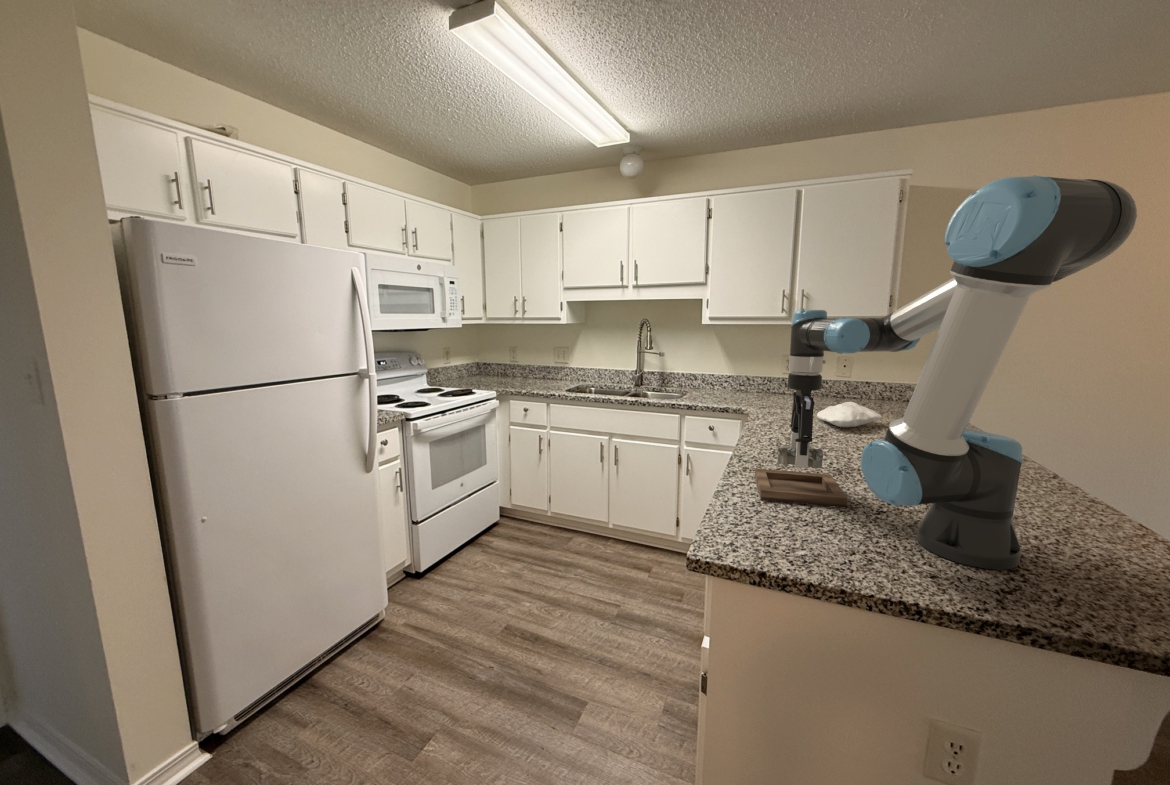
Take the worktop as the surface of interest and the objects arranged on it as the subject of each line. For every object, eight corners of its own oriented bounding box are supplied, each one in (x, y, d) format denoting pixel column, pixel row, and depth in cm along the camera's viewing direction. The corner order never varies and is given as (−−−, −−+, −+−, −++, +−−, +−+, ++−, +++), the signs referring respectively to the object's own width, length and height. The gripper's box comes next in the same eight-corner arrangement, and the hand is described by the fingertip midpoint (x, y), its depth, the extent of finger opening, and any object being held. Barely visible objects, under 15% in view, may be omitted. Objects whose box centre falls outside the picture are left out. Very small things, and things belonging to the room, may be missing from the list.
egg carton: (775, 464, 115) (776, 448, 114) (777, 456, 121) (778, 441, 121) (822, 470, 110) (823, 454, 109) (822, 461, 117) (823, 446, 116)
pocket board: (846, 508, 106) (847, 498, 106) (760, 499, 111) (761, 490, 111) (829, 483, 122) (830, 474, 122) (754, 477, 127) (755, 468, 127)
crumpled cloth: (879, 417, 198) (878, 396, 198) (885, 433, 168) (883, 409, 168) (819, 419, 210) (817, 400, 210) (814, 435, 180) (812, 413, 180)
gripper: (832, 379, 101) (823, 476, 105) (813, 369, 121) (806, 451, 124) (795, 378, 103) (788, 473, 107) (782, 368, 123) (777, 449, 127)
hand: (798, 461), depth 116 cm, fingers closed on egg carton, 8 cm apart
